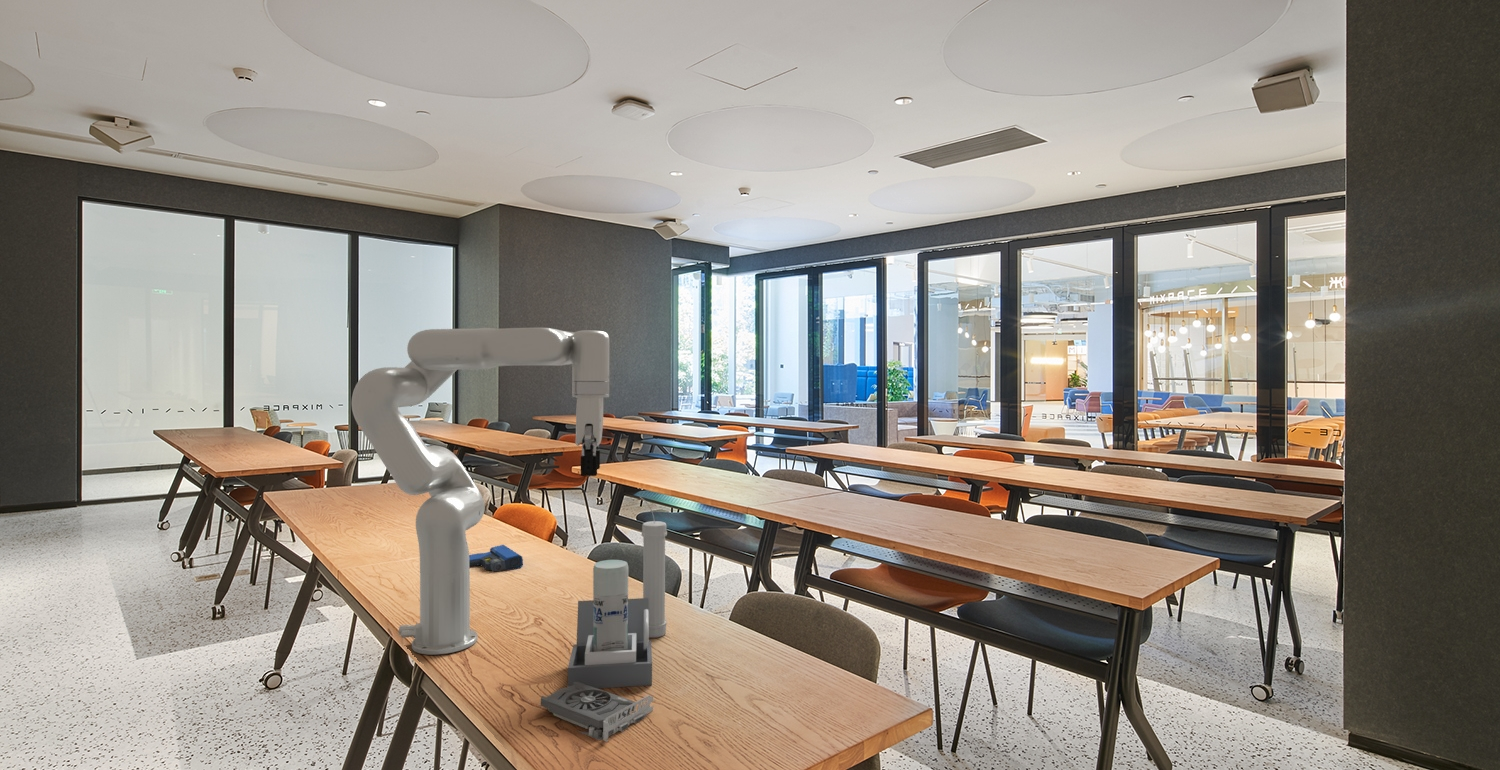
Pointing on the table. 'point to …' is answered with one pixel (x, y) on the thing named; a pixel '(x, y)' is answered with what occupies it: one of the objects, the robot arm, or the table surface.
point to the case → (612, 665)
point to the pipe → (654, 574)
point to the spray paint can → (610, 605)
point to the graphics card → (595, 709)
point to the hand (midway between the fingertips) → (590, 472)
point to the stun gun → (497, 559)
